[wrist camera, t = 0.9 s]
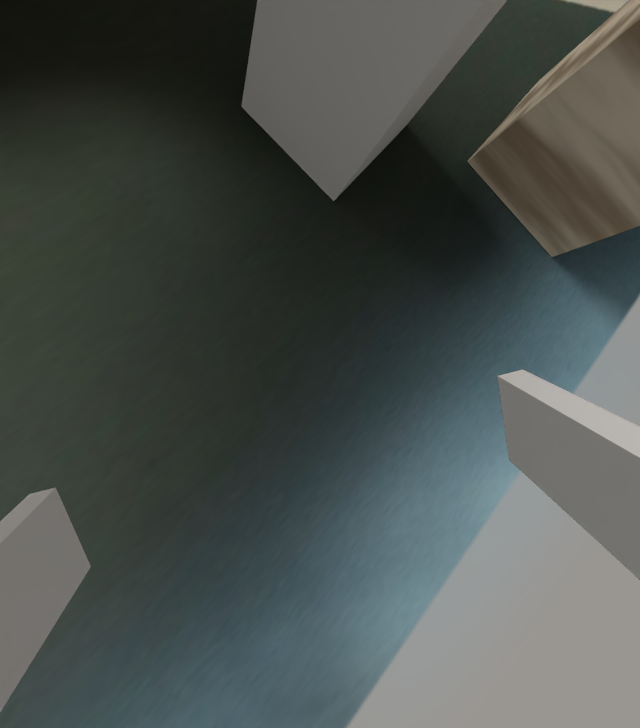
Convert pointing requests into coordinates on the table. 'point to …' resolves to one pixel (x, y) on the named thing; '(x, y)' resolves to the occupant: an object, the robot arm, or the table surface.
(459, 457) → the table surface
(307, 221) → the table surface
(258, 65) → the grey plinth
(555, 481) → the robot arm
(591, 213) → the birch pedestal
